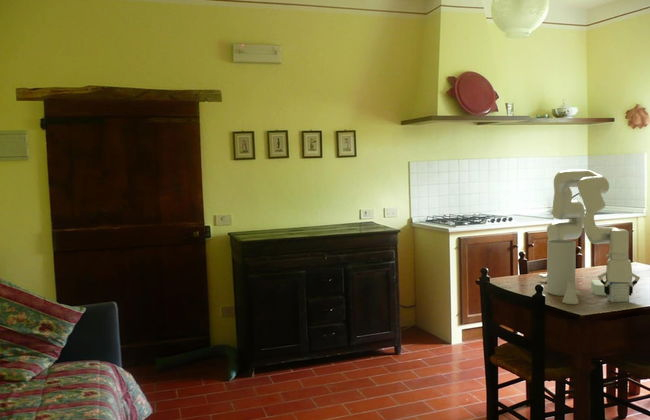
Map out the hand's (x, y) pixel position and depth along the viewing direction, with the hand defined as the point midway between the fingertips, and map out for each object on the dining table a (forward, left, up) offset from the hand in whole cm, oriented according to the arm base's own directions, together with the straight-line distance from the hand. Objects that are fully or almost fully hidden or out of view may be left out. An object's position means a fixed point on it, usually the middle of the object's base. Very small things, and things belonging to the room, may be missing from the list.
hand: (618, 294), depth 255 cm
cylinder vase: (-22, +12, -3) cm, 25 cm away
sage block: (-1, +16, -3) cm, 16 cm away
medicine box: (0, 0, -3) cm, 3 cm away
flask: (-21, -6, -3) cm, 22 cm away
